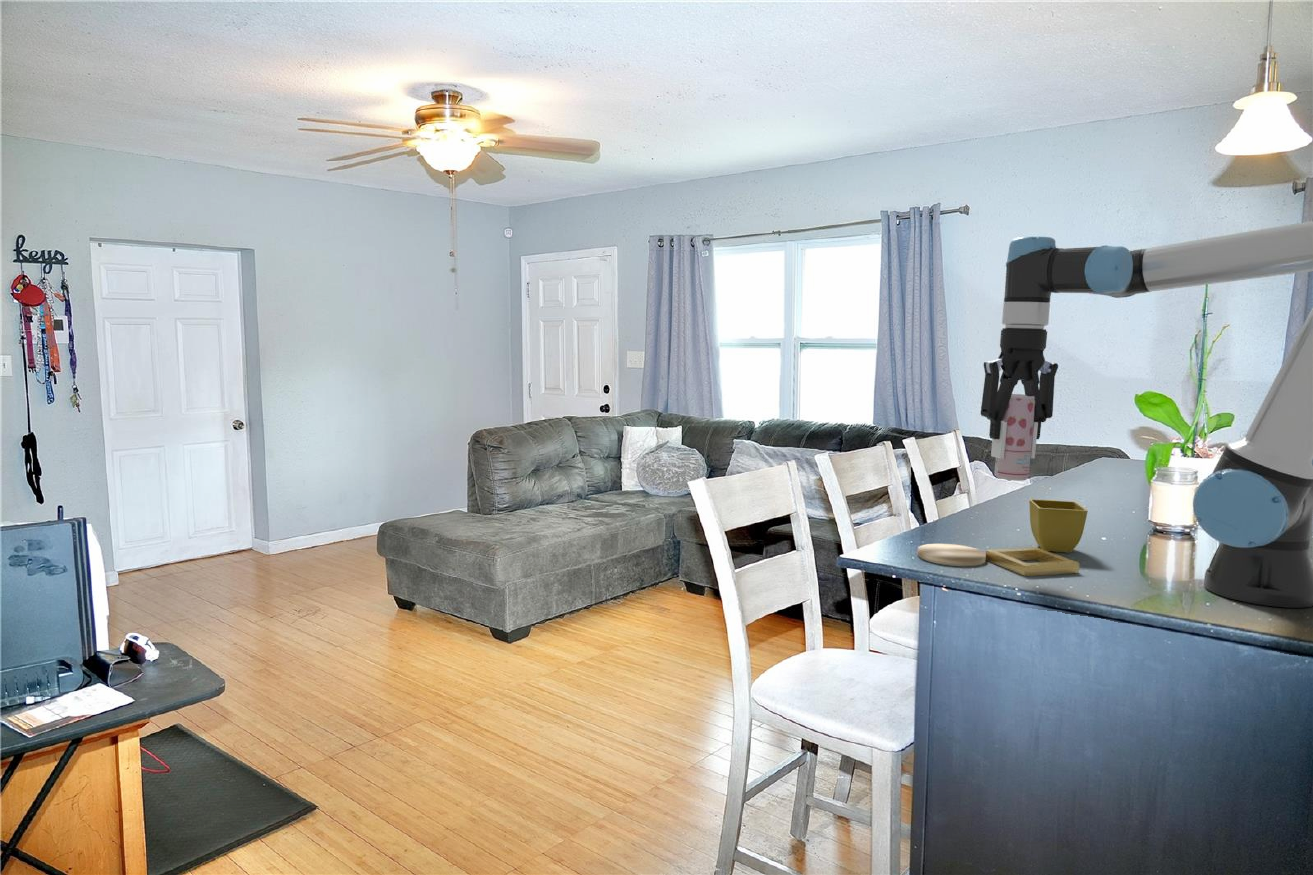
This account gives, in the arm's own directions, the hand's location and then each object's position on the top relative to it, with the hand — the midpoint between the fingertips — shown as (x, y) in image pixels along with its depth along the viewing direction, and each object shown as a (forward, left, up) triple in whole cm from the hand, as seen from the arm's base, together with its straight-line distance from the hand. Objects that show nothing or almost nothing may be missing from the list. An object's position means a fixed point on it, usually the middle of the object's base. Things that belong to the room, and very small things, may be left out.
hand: (1012, 457), depth 153 cm
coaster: (+5, +8, -20) cm, 22 cm away
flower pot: (+7, -16, -20) cm, 27 cm away
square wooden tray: (-3, -3, -20) cm, 20 cm away
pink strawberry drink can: (0, 0, -4) cm, 4 cm away
